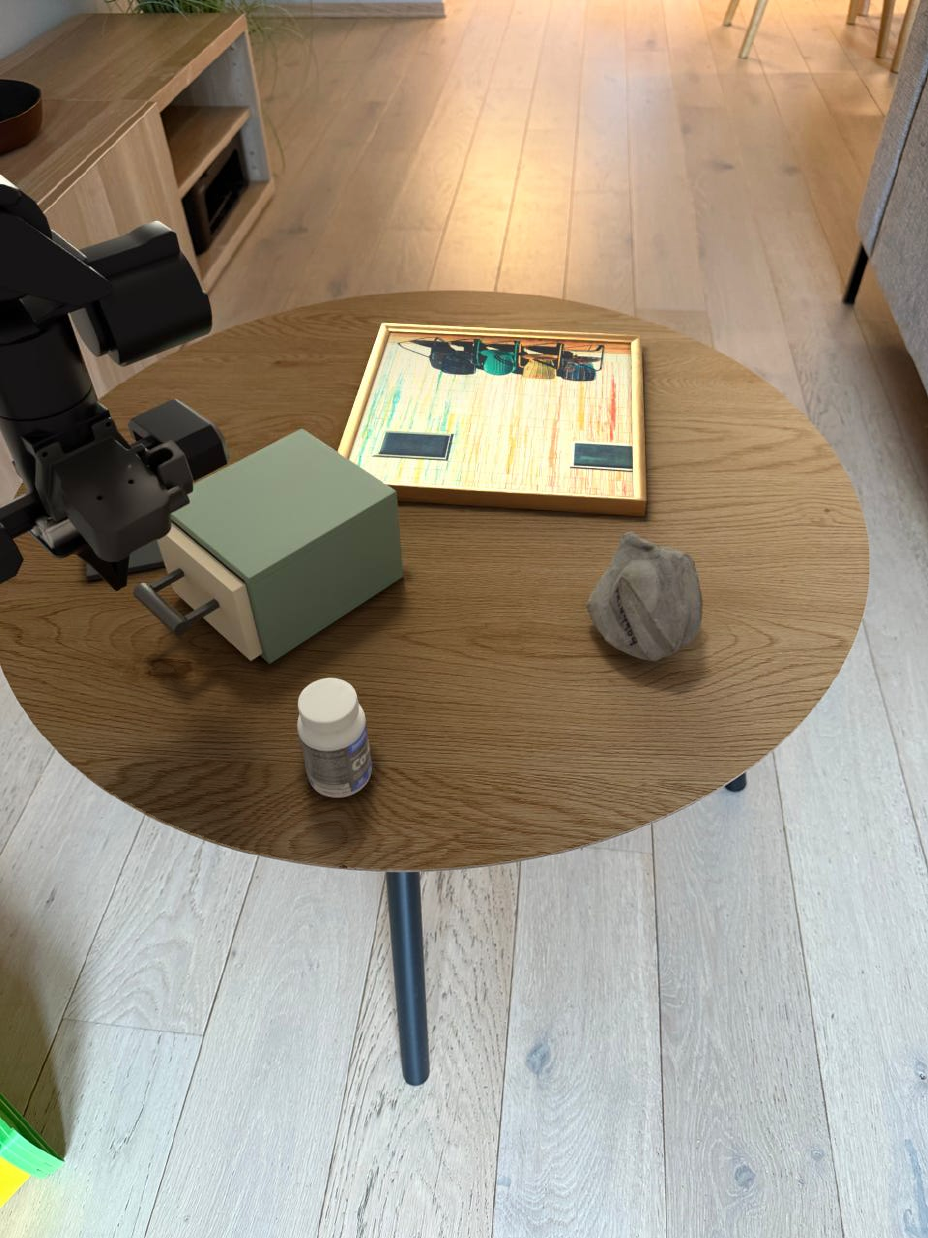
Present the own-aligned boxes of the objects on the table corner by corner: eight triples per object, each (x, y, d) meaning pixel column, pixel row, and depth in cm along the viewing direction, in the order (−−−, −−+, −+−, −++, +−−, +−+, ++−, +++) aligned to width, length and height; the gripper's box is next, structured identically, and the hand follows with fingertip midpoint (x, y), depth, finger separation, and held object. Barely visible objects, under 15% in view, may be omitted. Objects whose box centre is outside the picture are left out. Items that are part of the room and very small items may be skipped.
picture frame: (641, 334, 108) (646, 500, 88) (639, 349, 110) (644, 516, 89) (381, 322, 111) (327, 481, 90) (383, 337, 112) (329, 496, 92)
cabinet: (269, 664, 77) (248, 578, 70) (184, 588, 83) (157, 502, 76) (403, 576, 84) (396, 490, 77) (315, 512, 90) (301, 427, 83)
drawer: (206, 690, 74) (183, 620, 68) (130, 615, 79) (103, 546, 74) (378, 578, 82) (371, 509, 76) (298, 519, 88) (286, 450, 82)
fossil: (561, 602, 81) (567, 531, 75) (650, 570, 84) (662, 499, 78) (632, 692, 74) (645, 621, 68) (726, 654, 77) (747, 583, 71)
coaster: (88, 581, 84) (86, 576, 83) (86, 518, 90) (84, 513, 89) (191, 561, 85) (189, 556, 85) (182, 500, 91) (181, 495, 91)
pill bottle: (369, 800, 67) (358, 728, 61) (304, 799, 68) (286, 727, 62) (375, 746, 71) (365, 672, 65) (312, 745, 71) (297, 672, 65)
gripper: (-58, 534, 46) (50, 728, 57) (256, 381, 55) (296, 575, 66) (-145, 439, 51) (-31, 633, 63) (153, 314, 60) (206, 504, 72)
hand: (118, 586), depth 66 cm, fingers closed
